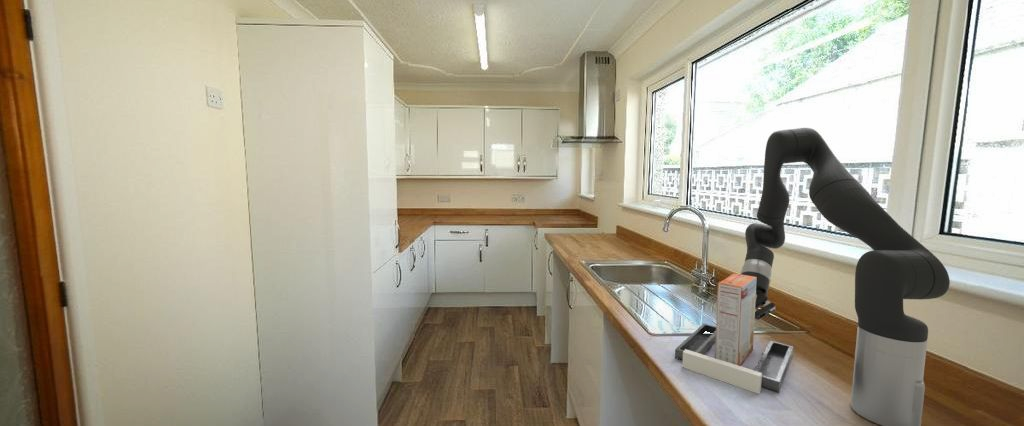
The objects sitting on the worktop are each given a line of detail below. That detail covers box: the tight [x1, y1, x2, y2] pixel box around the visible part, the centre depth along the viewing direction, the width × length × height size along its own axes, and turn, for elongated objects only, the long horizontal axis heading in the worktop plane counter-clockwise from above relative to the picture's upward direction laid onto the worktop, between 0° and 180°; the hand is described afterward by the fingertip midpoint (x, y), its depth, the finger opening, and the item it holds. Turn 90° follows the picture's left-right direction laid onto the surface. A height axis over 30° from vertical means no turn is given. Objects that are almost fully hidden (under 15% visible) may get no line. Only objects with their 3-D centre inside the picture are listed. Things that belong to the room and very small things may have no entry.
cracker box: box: [714, 273, 757, 367], centre depth 93 cm, size 14×6×21 cm, turn 133°
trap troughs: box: [674, 323, 794, 393], centre depth 93 cm, size 22×24×2 cm
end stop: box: [681, 349, 762, 395], centre depth 83 cm, size 16×2×4 cm, turn 46°
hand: (742, 328), depth 99 cm, fingers closed
